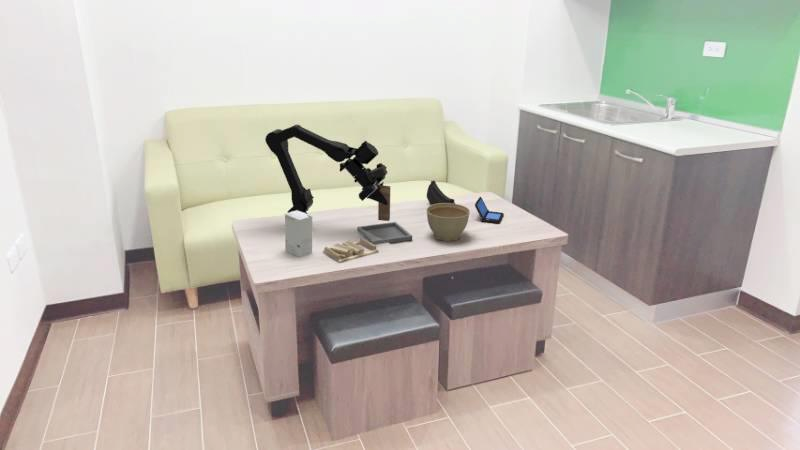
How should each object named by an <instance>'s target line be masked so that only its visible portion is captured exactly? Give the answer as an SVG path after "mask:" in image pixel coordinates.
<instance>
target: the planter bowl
mask: <svg viewBox="0 0 800 450" xmlns="http://www.w3.org/2000/svg"><path fill="white" fill-rule="evenodd" d="M470 212H471V211H470V209H469V208H468V207H467V206H464V205H461V204H457V203H455V204H452V203H439V204H434V205H431V204H430V205H428V206H427V208H426V217H427V223H428V226H429V228H430V230H431V231H432V233H433V235H434V238H436V240H437V239H438V240H439V241H444V242H453V241H457V240H459V238H460V235H462V233H463V232H464V230H465V229H466V227H467V225H468V222H469V219H470V217H469V216H470Z"/></svg>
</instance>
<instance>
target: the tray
mask: <svg viewBox="0 0 800 450" xmlns="http://www.w3.org/2000/svg"><path fill="white" fill-rule="evenodd" d="M356 230H357V231H358V232H359V233H360V234H361V235H362V236H363V237H364V239H365V240H367V241H369V242H371V243H372V244H374V245H380V244H386V243H387V244H389V245H393V244H399V243H400V244H401V243H406V242H407V243H408V242H412V241H413V235H412V234H411V233H410V232H408V231H407V230H406V229H405V228H404V227H402V225H400V224H399V223H398V222H397V221H394V222H393V221H391V222H390V221H389V222H382V223H375V224H370V225H369V224H368V225H360V226H357V229H356ZM368 233H369V234H371V235H372V236H375V237H376V238H378V239H375V240H374V239H373V238H372V236H370V235H369V234H368Z"/></svg>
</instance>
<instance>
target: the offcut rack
mask: <svg viewBox="0 0 800 450" xmlns="http://www.w3.org/2000/svg"><path fill="white" fill-rule="evenodd" d="M342 245H345V246H349V247H353V248H354V252H352V253H353V256H351V257H348V258H344V259H341V255H339V254H338V253H336V252H334V251H333V250H331V249H330V247H328V246H324V248H323V249H324V250H322V253H323V254H324V255H327V256H328V257H329V258H331V259H332V260H334V261H336V262H337V263H339V264H343V263H345V262H349V261H352V260H357V259H359V258H360V259H361V258H364V257H367V256H370V255H375V254H377V253H379V250H378V249H377V244H375V245H374V244H372V243H371V242H369V241H368V240H367V239H366V238H363V237H360V238H359V240H358V241H354V242H353V241H351V240H348V241H345V242H342ZM360 245H361V246H362V247H361V246H360ZM363 247H364V248H363ZM365 248H366V249H368V250H369V251H366V252H365Z"/></svg>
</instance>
